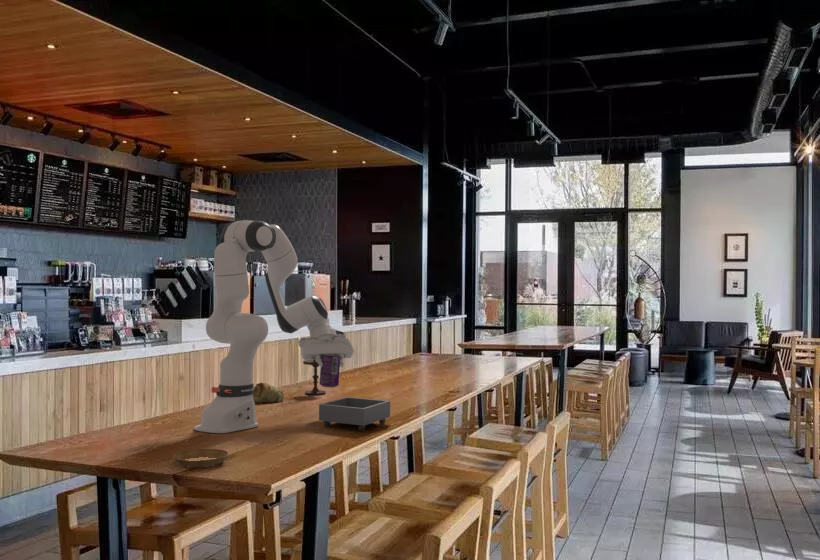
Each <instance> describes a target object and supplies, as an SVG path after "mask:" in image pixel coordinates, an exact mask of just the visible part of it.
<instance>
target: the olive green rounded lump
mask: <svg viewBox="0 0 820 560" xmlns="http://www.w3.org/2000/svg"><path fill="white" fill-rule="evenodd" d="M253 400H254V402H255V403H258V402H259V403H261V404H263V403H262V402H268V403H281V402H282V401H283V400H284V393H283V390H279V388H278V387H275V386H274V385H271V384H268V383H266V382H259V383H256V384H255V385H254V393H253Z"/></svg>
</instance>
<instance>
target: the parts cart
mask: <svg viewBox="0 0 820 560" xmlns="http://www.w3.org/2000/svg"><path fill="white" fill-rule="evenodd" d="M388 418H391V400H383V399H372V398H361V397H354V396H353V397H351V396H345V397H342V398H338V399H335V400H330V401H327V402H322V403H319V404H318V421H321V422H323V427H324V428H330V426H331V423H336V424H337V423H338V424H343V425H345V424H347V425H354V426H358V429H357V430H358V432H364V431H365V430H366V426H367V425H370V424H373V423H376V422H379V424H380V425H385V424H386V419H388Z"/></svg>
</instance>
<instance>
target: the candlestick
mask: <svg viewBox="0 0 820 560" xmlns="http://www.w3.org/2000/svg"><path fill="white" fill-rule="evenodd" d="M302 363H303V365H308V366H312V368H313V375H312V379H313V381H312V383H313V388H312V389H311V390H310V389H309V390H306V391H305V392H304V395H306V396H323V395H326V392H327V391H325V390H320V389H319V388H318V384H319V381H318V379H320V375H318V368H319V367H320V364H318V363H317V362H316V361H315V360H303V362H302Z"/></svg>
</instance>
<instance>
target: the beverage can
mask: <svg viewBox="0 0 820 560" xmlns="http://www.w3.org/2000/svg"><path fill="white" fill-rule="evenodd" d="M321 361H322V364H323V366H322V368H321V367H320V371H319V382H318V384H319V385H320V386H321V387H324V388H336V387H337V386H339V383H340V369H341V367H340V361H341V360H340V358H339V354H329V355H326V354H323V356H322V358H321Z"/></svg>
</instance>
